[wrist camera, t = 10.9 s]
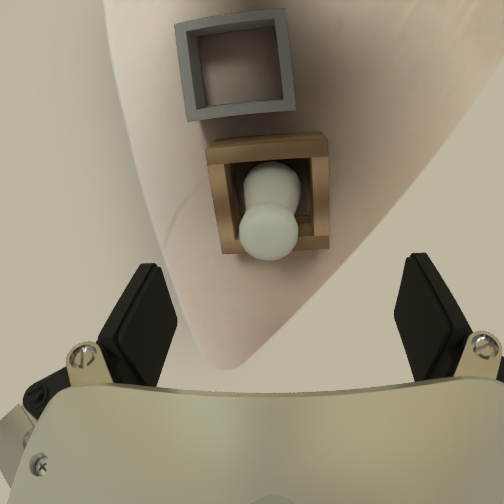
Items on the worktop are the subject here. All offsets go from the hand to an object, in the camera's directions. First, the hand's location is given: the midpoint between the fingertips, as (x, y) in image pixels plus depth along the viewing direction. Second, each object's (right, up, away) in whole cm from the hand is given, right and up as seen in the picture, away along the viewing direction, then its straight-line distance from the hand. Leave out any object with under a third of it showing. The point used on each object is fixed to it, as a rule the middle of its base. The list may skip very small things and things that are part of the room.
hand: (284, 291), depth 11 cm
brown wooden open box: (+1, +9, +21) cm, 23 cm away
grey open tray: (-2, +20, +15) cm, 25 cm away
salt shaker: (+1, +9, +21) cm, 23 cm away
